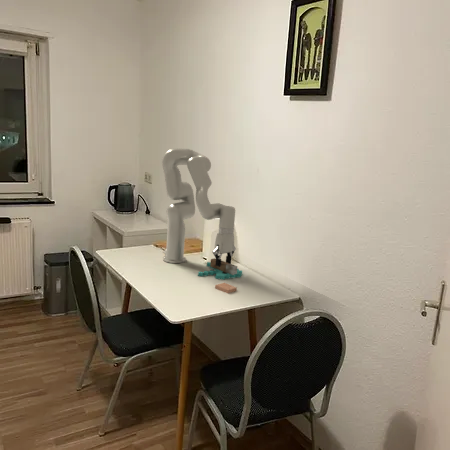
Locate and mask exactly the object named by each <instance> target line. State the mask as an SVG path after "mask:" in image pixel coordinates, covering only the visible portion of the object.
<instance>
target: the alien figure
mask: <svg viewBox="0 0 450 450" xmlns="http://www.w3.org/2000/svg"><path fill="white" fill-rule="evenodd" d="M210 264H211V261H207V263H206V267H209V268H210V269H211V270H204V271H198V273H197V277H204V276H206V277H208V276H209V275H210V276H214V275H215V279H218V280H224V281H225V279H227V280H230V279H235V278H239V279H240V278H241V276H242V275H243V270H240V269H239V268H237V274H234V275H232V274H229V273H226V272H224V271H221V270H218V269H216V268H213V267H210Z"/></svg>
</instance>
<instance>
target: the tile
mask: <svg viewBox="0 0 450 450" xmlns="http://www.w3.org/2000/svg"><path fill="white" fill-rule="evenodd" d="M214 286H215V287H214V289H215V290H218V291H221V292H223V293H226V294H230V293H233V292H237V291H238V287H237V286H234V285H231V284H230V283H226V282H221V283H218V284H215V285H214Z"/></svg>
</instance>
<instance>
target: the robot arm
mask: <svg viewBox="0 0 450 450" xmlns="http://www.w3.org/2000/svg"><path fill="white" fill-rule="evenodd" d="M161 160H162V161H161V164H162V169H163V173H164V182H165V190H166V195H167V198H168V199H169V200H171V201H179V202H174V203H172V204H170V205H169V206H168V207H167V208H166V209H167V210H166V219H167V229H166V230H167V233H166V248H165V250H163V251H162V253H163V254H164V256H163V257H162V260H163V261H164V262H166V263H170V264H183V263H185V262H187V258H186V257H185V256H184V255H185V242H186V241H185V238H186V226H185V225H186V224H185V222H184V221H185V220H188V219H191V218H193V217H194V215H195V213H196V207H197V209H198V211H199V213H200V215H201V216H202V218H203V219H204V220H206V221H207V220H208V221H209V220H215V219H219V222H218V223H219V224H218V233H217V234H216V236H215V242H214V249H213V251H212V254H213V256H214V258H216V266H219V267H220V266H221V261H222V259H221V258H222V256H223V254H226V256H225V262H227V263H230V264H232V257H233V255H234V253H235V251H236V250H237V248H236V246H235V234H234V231H235V220H236V208H235V207H234V206H230V205H224V204H221V203H218V202H217V203H211V202H210V200H209V198H208V197H209V196H208V191H209V188H210V187H211V186H212V183H213V182H212V180H211V178H210V175H209V173H208V172H209V171H210V170H211V168H212V163H211V160H210V159H209V158H208V157H207V156H205V155H203V154H201V153H199V152H197V151H195V150H193V149H190V148H172V149H169V150H167V151H166V152H165V153H164V154H163V157H162V159H161ZM178 166H186V167H187V170H188V171H189V174H190V177H191V179H192V182H193V184H194V186H195V190H196V191H195V195H194V189H193V187H192V185H191V184H190V183H189V182H187V181H182V174H181V171H180V169H179V168H178Z"/></svg>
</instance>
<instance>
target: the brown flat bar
mask: <svg viewBox="0 0 450 450" xmlns="http://www.w3.org/2000/svg"><path fill="white" fill-rule="evenodd" d="M210 262H211V264H210V267H213V268H216V269H218V270H221V271H224V272H226V273H229V274H232V275H234V274H237V269H238V266H237V265H235V264H232V263H231V264H230V263H227V262H226V261H224V260H221V266H220V267H219V266H216V258H215V257H214V258H211V259H210ZM210 267H209V268H210ZM213 268H212V269H213Z"/></svg>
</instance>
